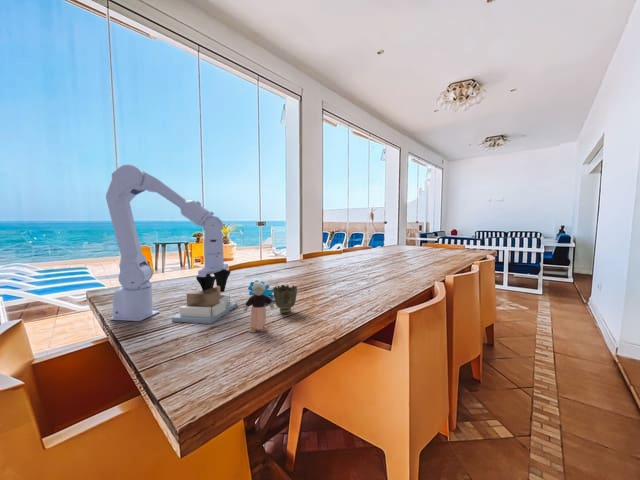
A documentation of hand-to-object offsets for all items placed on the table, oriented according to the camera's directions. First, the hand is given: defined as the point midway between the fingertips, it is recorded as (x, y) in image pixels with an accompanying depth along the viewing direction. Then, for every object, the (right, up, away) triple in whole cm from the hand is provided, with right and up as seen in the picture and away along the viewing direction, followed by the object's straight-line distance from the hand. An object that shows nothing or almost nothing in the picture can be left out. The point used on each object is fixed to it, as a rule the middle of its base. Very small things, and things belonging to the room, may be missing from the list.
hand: (215, 294), depth 85 cm
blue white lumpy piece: (+14, -5, +7) cm, 16 cm away
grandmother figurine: (+19, -6, -17) cm, 26 cm away
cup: (+24, -5, -4) cm, 24 cm away
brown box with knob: (-1, -4, -7) cm, 8 cm away
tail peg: (0, -3, 0) cm, 3 cm away
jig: (-1, -5, -4) cm, 6 cm away
